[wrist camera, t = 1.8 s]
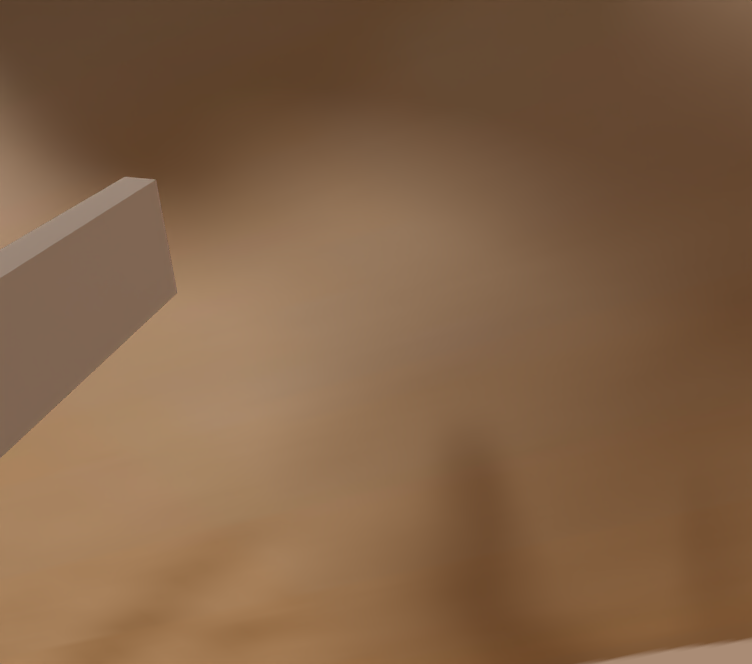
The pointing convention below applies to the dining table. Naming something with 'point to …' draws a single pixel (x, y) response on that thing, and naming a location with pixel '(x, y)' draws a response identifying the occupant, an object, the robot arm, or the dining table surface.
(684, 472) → the dining table surface
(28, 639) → the dining table surface
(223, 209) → the dining table surface
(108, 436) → the dining table surface
